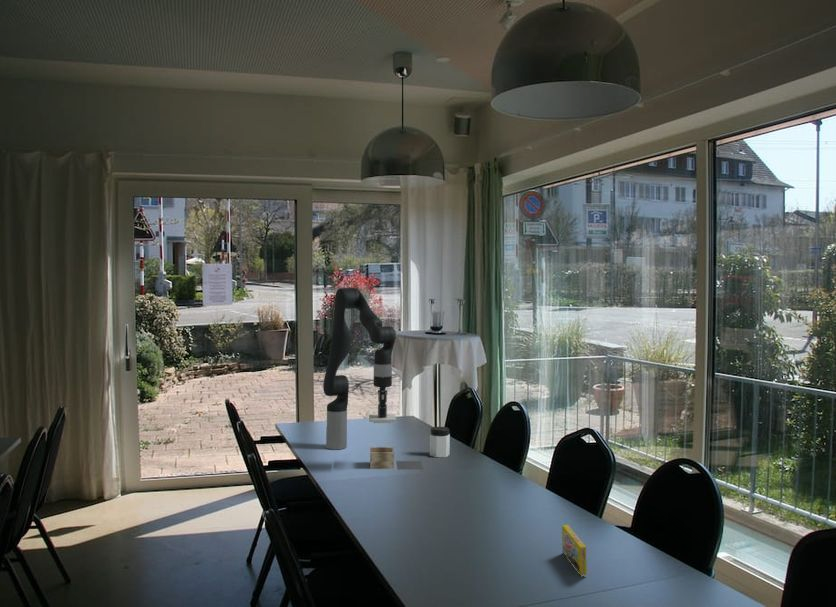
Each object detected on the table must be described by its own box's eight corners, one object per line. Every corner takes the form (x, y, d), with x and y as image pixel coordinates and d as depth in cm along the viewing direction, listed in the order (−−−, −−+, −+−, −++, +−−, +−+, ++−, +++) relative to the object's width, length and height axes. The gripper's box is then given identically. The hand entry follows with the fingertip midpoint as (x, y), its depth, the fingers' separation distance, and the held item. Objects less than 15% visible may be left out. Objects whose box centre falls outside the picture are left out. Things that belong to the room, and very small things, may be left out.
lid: (368, 424, 281) (369, 407, 281) (368, 418, 292) (368, 402, 292) (396, 424, 282) (396, 407, 282) (394, 418, 293) (395, 402, 293)
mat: (397, 470, 282) (397, 469, 282) (396, 462, 295) (396, 461, 295) (423, 470, 282) (423, 469, 282) (420, 462, 295) (420, 460, 295)
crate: (370, 469, 283) (370, 452, 282) (370, 463, 292) (370, 447, 292) (393, 469, 283) (394, 452, 283) (392, 463, 293) (393, 447, 293)
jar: (453, 455, 307) (453, 429, 306) (439, 458, 302) (439, 431, 301) (439, 452, 314) (440, 425, 313) (426, 454, 308) (426, 427, 308)
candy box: (561, 553, 198) (561, 524, 198) (568, 553, 198) (569, 524, 198) (579, 577, 182) (579, 546, 181) (587, 577, 182) (587, 546, 182)
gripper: (373, 372, 293) (372, 412, 294) (373, 377, 279) (373, 419, 280) (391, 372, 294) (390, 412, 294) (392, 377, 280) (392, 419, 280)
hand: (382, 415), depth 287 cm, fingers closed on lid, 3 cm apart
